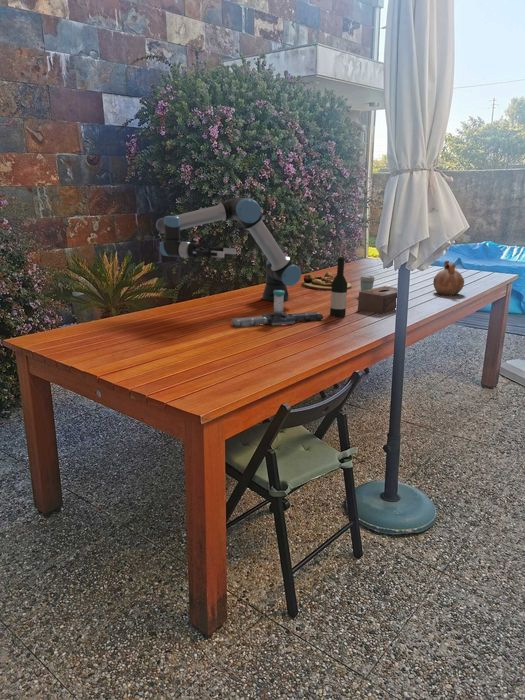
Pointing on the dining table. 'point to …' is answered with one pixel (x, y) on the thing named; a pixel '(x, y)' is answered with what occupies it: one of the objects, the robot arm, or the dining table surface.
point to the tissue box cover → (378, 300)
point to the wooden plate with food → (320, 282)
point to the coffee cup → (366, 282)
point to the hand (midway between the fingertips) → (230, 253)
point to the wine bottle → (339, 291)
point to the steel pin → (278, 303)
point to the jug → (448, 280)
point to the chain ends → (276, 319)
